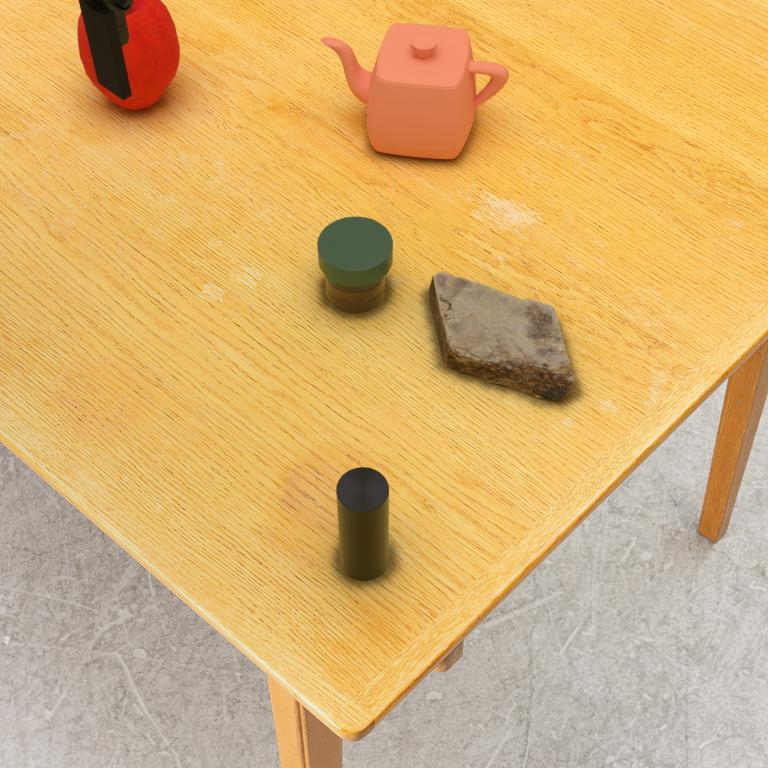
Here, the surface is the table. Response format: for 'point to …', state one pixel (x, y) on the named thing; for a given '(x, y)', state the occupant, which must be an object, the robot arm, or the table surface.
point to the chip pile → (355, 296)
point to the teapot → (420, 89)
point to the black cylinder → (363, 523)
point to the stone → (500, 337)
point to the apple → (141, 54)
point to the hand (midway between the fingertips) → (32, 138)
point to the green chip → (355, 251)
